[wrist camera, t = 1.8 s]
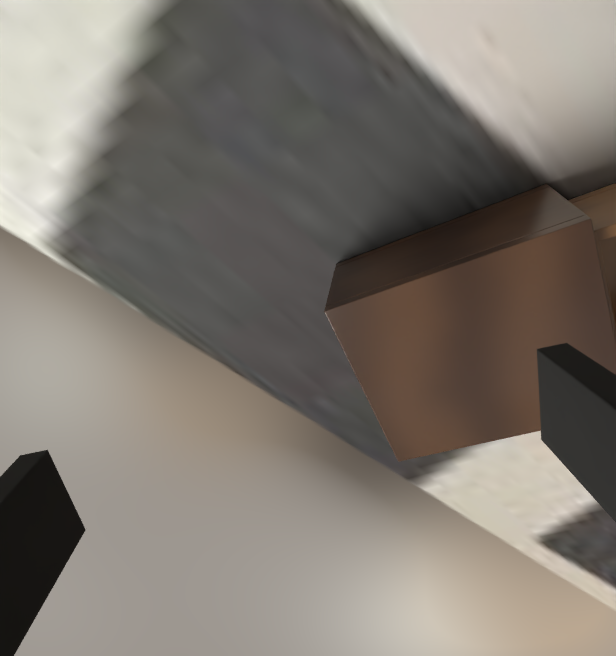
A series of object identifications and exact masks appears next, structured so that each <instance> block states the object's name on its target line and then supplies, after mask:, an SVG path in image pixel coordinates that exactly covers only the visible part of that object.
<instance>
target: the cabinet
mask: <svg viewBox="0 0 616 656" xmlns="http://www.w3.org/2000/svg"><path fill="white" fill-rule="evenodd" d="M324 312H325V314H326V316H327V318H328V320H329V322H330V324H331V326H332V328H333V330H334V332H335V334H336V336H337V338H338V340H339V342H340V344H341V346H342V348H343V350H344V352H345V354H346V356H347V359H348V361H349V363H350V365H351V367H352V369H353V371H354V373H355V375H356V377H357V379H358V381H359V383H360V385H361V387H362V389H363V391H364V393H365V395H366V397H367V399H368V401H369V403H370V405H371V407H372V409H373V411H374V413H375V415H376V417H377V419H378V421H379V423H380V425H381V428H382V430H383V432H384V434H385V436H386V438H387V440H388V442H389V444H390V446H391V448H392V450H393V452H394V454H395V456H396V458H397V460H398V461H403V460H407V459H412V458H417V457H421V456H426V455H430V454H435V453H440V452H444V451H449V450H453V449H458V448H463V447H467V446H472V445H476V444H481V443H485V442H490V441H495V440H499V439H504V438H508V437H513V436H518V435H522V434H527V433H531V432H536V431H540V430H541V421H540V402H539V383H538V364H537V349H539V348H544V347H549V346H553V345H558V344H563V343H568V344H569V345H571V346H572V347H574V348H575V349H577V350H579V351H580V352H582V353H583V354H585V355H586V356H588V357H589V358H591V359H592V360H594V361H595V362H597V363H598V364H600V365H601V366H603V367H605V368H606V369H608V370H609V371H611V372H612V373H614V374H615V375H616V341H615V336H614V331H613V326H612V321H611V316H610V311H609V306H608V300H607V295H606V290H605V285H604V280H603V275H602V270H601V265H600V260H599V255H598V250H597V245H596V240H595V235H594V230H593V225H592V220H591V218H590V217H588V216H587V215H586V214H585V213H583V212H582V211H581V210H580V209H578V208H577V207H576V206H574V205H573V204H572V203H571V202H569V201H568V200H567V199H565V198H564V197H563V196H562V195H560V194H559V193H558V192H556V191H555V190H554V189H553V188H551V187H550V186H549V185H547V184H545V185H542V186H540V187H537V188H534V189H532V190H529V191H526V192H524V193H521V194H519V195H516V196H513V197H511V198H508V199H505V200H503V201H500V202H498V203H495V204H492V205H490V206H487V207H484V208H482V209H479V210H477V211H474V212H471V213H469V214H466V215H464V216H461V217H458V218H456V219H453V220H450V221H448V222H445V223H443V224H440V225H437V226H435V227H432V228H429V229H427V230H424V231H422V232H419V233H416V234H414V235H411V236H408V237H406V238H403V239H401V240H398V241H395V242H393V243H390V244H387V245H385V246H382V247H380V248H377V249H374V250H372V251H369V252H366V253H364V254H361V255H359V256H356V257H353V258H351V259H348V260H345V261H343V262H340V263H338V264H336V267H335V271H334V275H333V279H332V283H331V287H330V291H329V295H328V299H327V303H326V307H325V311H324Z"/></svg>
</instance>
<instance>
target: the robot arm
mask: <svg viewBox="0 0 616 656" xmlns="http://www.w3.org/2000/svg"><path fill="white" fill-rule="evenodd" d="M537 364H538V383H539V402H540V421H541V440H542V441H543V442H544V443H545V444H546V445H547V446H548V447H549V449H550V450H551V451H552V452H553V453H554V454H555V455H556V456H557V457H558V459H559V460H560V461H561V462H562V463H563V464H564V465H565V466H566V467H567V469H568V470H569V471H570V472H571V473H572V474H573V475H574V476H575V477H576V479H577V480H578V481H579V482H580V483H581V484H582V485H583V486H584V487H585V489H586V490H587V491H588V492H589V493H590V494H591V495H592V496H593V497H594V499H595V500H596V501H597V502H598V503H599V504H600V505H601V506H602V507H603V509H604V510H605V511H606V512H607V513H608V514H609V515H610V516H611V517H612V519H613V520H614V521H615V522H616V375H615V374H614V373H612V372H611V371H609V370H608V369H606V368H605V367H603V366H601V365H600V364H598V363H597V362H595V361H594V360H592V359H591V358H589V357H588V356H586V355H585V354H583V353H582V352H580V351H579V350H577V349H575V348H574V347H572V346H571V345H569V344H568V343H563V344H558V345H553V346H549V347H544V348H539V349H537ZM84 532H85V528H84V526H83V524H82V521H81V519H80V517H79V515H78V513H77V511H76V509H75V507H74V505H73V502H72V500H71V498H70V496H69V494H68V492H67V490H66V488H65V486H64V484H63V481H62V479H61V477H60V475H59V473H58V471H57V469H56V467H55V465H54V462H53V460H52V458H51V456H50V454H49V452H48V450H45V451H40V452H35V453H30V454H25V455H20V456H19V458H18V459H17V460H16V461H15V462H14V463H13V464H12V465H11V466H10V467H9V468H8V469H7V470H6V471H5V473H4V474H3V475H2V476H1V477H0V656H14V654H15V653H16V651H17V649H18V647H19V646H20V644H21V642H22V640H23V639H24V636H25V635H26V633H27V632H28V630H29V628H30V626H31V624H32V623H33V621H34V619H35V617H36V616H37V614H38V612H39V610H40V609H41V607H42V605H43V603H44V602H45V600H46V598H47V596H48V594H49V593H50V591H51V589H52V588H53V586H54V584H55V582H56V581H57V579H58V577H59V575H60V574H61V572H62V570H63V568H64V567H65V565H66V563H67V561H68V560H69V558H70V556H71V554H72V553H73V551H74V549H75V547H76V546H77V544H78V542H79V540H80V539H81V537H82V535H83V533H84Z"/></svg>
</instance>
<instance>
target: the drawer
mask: <svg viewBox="0 0 616 656" xmlns="http://www.w3.org/2000/svg"><path fill="white" fill-rule="evenodd" d="M568 201H569V202H571V203H572V204H573V205H574V206H576V207H577V208H578V209H580V210H581V211H582V212H583V213H585V214H586V215H587V216H588V217H590V218H591V220H592V225H593V230H594V235H595V240H596V245H597V250H598V255H599V260H600V265H601V270H602V275H603V280H604V285H605V290H606V295H607V300H608V306H609V311H610V316H611V321H612V326H613V331H614V336H615V341H616V183H614V184H611V185H609V186H606V187H603V188H601V189H598V190H595V191H592V192H590V193H587V194H584V195H581V196H579V197H576V198H573V199H570V200H568Z"/></svg>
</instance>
